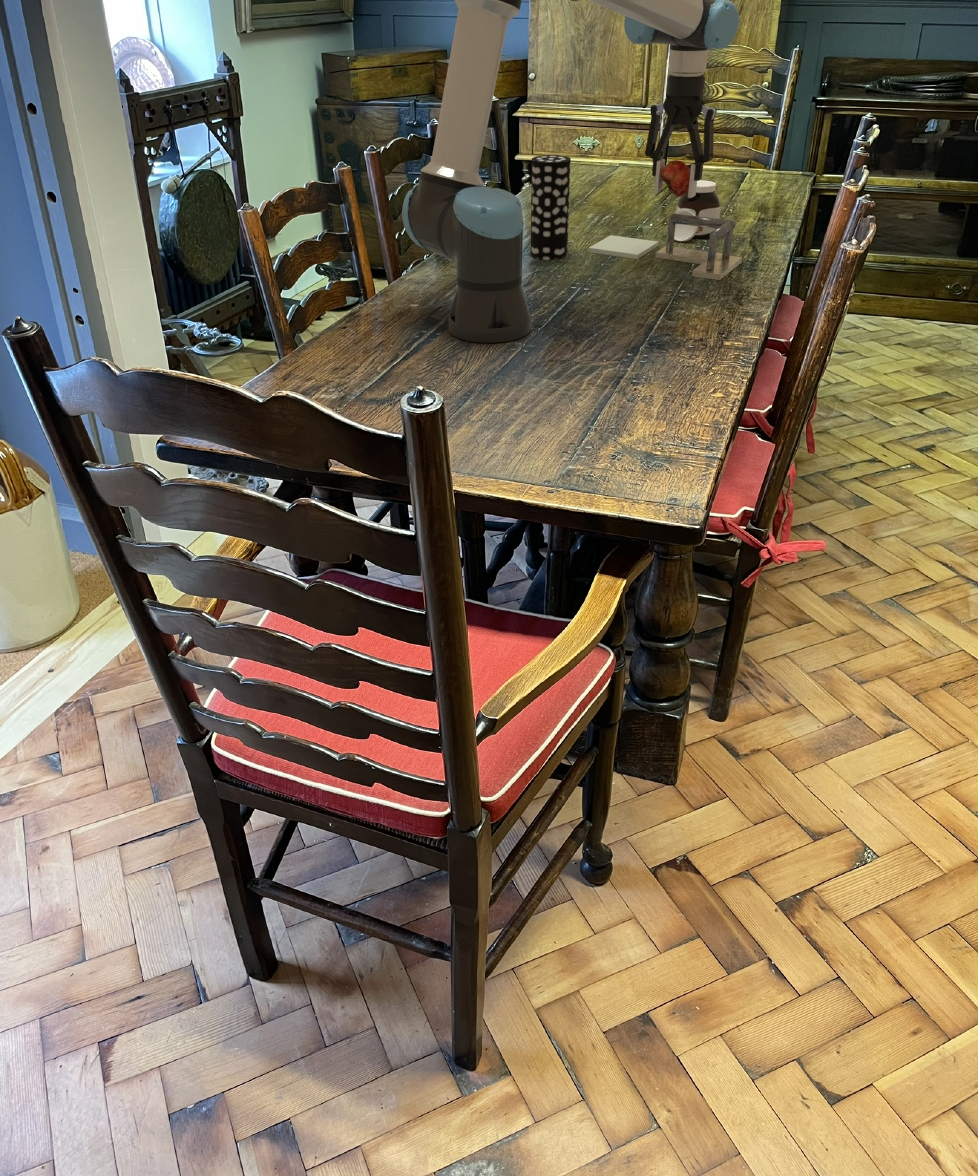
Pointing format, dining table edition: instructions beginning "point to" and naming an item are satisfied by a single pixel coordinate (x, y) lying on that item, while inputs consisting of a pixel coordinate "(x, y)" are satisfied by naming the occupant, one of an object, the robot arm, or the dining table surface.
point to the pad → (623, 247)
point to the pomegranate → (676, 177)
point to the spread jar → (697, 211)
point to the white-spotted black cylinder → (550, 206)
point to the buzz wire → (710, 260)
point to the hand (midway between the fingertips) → (674, 194)
